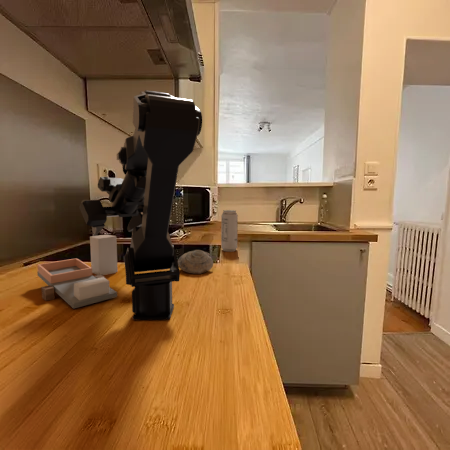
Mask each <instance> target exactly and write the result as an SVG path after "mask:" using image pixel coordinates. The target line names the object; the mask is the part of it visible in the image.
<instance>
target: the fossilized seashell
mask: <svg viewBox="0 0 450 450" xmlns="http://www.w3.org/2000/svg"><path fill="white" fill-rule="evenodd" d="M177 262H178V266H179V270H182V271H184V272H185V273H189V274H196V275H201V274H205V273H206V272H208V271H209V272H210V270H212V268H213V266H214V260H213V258H212V257H211V254H210V253H209V252H208V251H204V250H201V249H193V250H191V251H187V252H185V253H184V254H182V255H181V256H179V258H178V259H177Z"/></svg>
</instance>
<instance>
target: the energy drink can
mask: <svg viewBox="0 0 450 450" xmlns="http://www.w3.org/2000/svg"><path fill="white" fill-rule="evenodd" d="M237 213H238V212H237V210H235V209H226V210H223V211H222V214H221V223H220V224H221V226H220V227H221V228H220V229H221V230H220V231H221V234H220V235H221V237H220V238H221V240H220V241H221V243H220V245H221V247H220V248H221V250H222V252H229V253H231V252H235V251H236V250H237V249H238V222H239V221H238V217H239V215H238V214H237Z"/></svg>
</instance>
